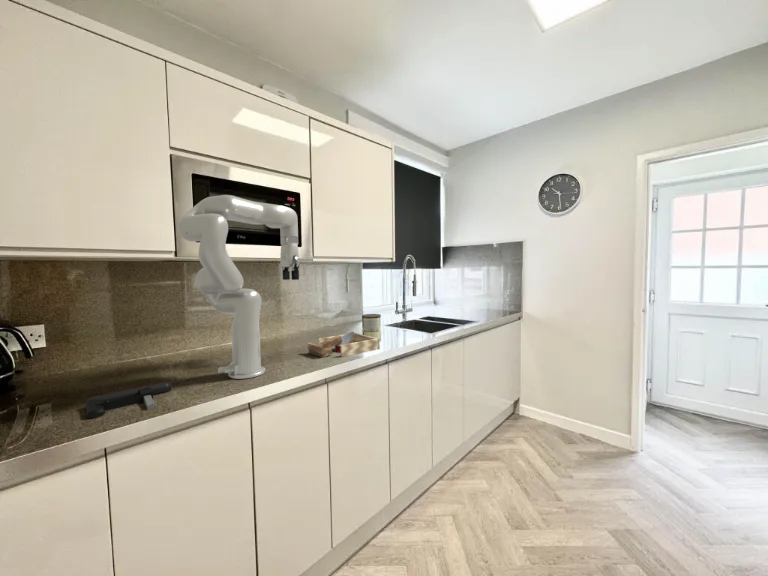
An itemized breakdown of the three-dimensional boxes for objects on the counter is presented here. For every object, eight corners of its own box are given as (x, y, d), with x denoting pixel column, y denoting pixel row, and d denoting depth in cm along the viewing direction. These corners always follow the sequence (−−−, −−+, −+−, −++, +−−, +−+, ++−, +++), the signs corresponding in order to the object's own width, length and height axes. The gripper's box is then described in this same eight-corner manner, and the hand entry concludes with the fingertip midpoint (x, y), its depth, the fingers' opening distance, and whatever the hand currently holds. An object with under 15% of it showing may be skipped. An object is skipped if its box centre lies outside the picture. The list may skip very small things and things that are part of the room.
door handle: (179, 395, 93) (168, 379, 104) (85, 417, 79) (85, 396, 91) (179, 406, 93) (169, 389, 105) (85, 430, 79) (85, 407, 91)
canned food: (353, 361, 151) (352, 344, 146) (332, 358, 152) (331, 342, 147) (358, 345, 161) (358, 329, 156) (339, 342, 162) (338, 327, 157)
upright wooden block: (320, 347, 139) (345, 335, 148) (306, 343, 148) (331, 332, 157) (323, 357, 140) (348, 345, 149) (309, 353, 149) (333, 341, 158)
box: (342, 356, 141) (342, 345, 140) (318, 348, 157) (318, 338, 157) (379, 348, 154) (379, 338, 154) (354, 342, 171) (354, 332, 170)
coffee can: (358, 340, 175) (358, 314, 174) (374, 338, 181) (374, 313, 180) (368, 343, 166) (368, 316, 166) (385, 341, 172) (384, 315, 171)
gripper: (273, 242, 147) (275, 279, 147) (289, 238, 133) (290, 280, 134) (289, 243, 151) (290, 279, 152) (306, 239, 138) (307, 279, 139)
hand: (290, 279), depth 143 cm, fingers open, 9 cm apart
